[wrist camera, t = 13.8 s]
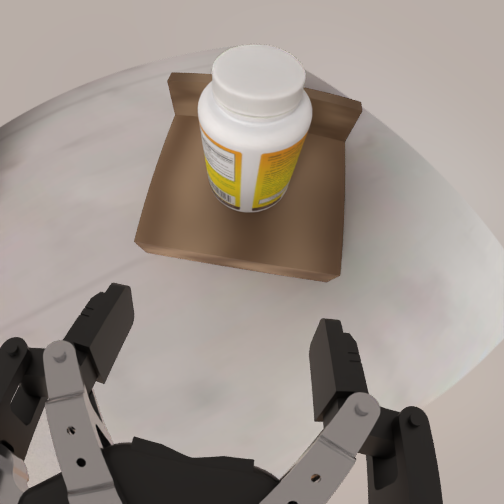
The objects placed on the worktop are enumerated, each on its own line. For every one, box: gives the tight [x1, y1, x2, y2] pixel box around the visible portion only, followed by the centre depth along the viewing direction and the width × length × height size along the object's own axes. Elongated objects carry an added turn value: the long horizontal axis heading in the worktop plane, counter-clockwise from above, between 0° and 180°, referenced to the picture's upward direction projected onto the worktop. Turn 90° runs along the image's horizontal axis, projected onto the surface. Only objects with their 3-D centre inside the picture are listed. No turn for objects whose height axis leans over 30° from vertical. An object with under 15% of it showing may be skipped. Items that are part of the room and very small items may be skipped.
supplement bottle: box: [198, 44, 312, 212], centre depth 15 cm, size 6×6×10 cm
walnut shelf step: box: [134, 73, 362, 282], centre depth 20 cm, size 14×12×7 cm
